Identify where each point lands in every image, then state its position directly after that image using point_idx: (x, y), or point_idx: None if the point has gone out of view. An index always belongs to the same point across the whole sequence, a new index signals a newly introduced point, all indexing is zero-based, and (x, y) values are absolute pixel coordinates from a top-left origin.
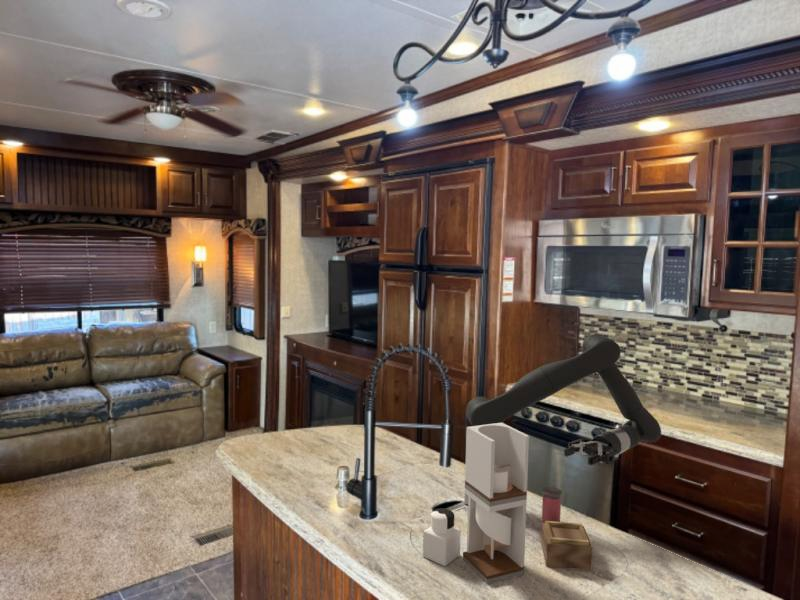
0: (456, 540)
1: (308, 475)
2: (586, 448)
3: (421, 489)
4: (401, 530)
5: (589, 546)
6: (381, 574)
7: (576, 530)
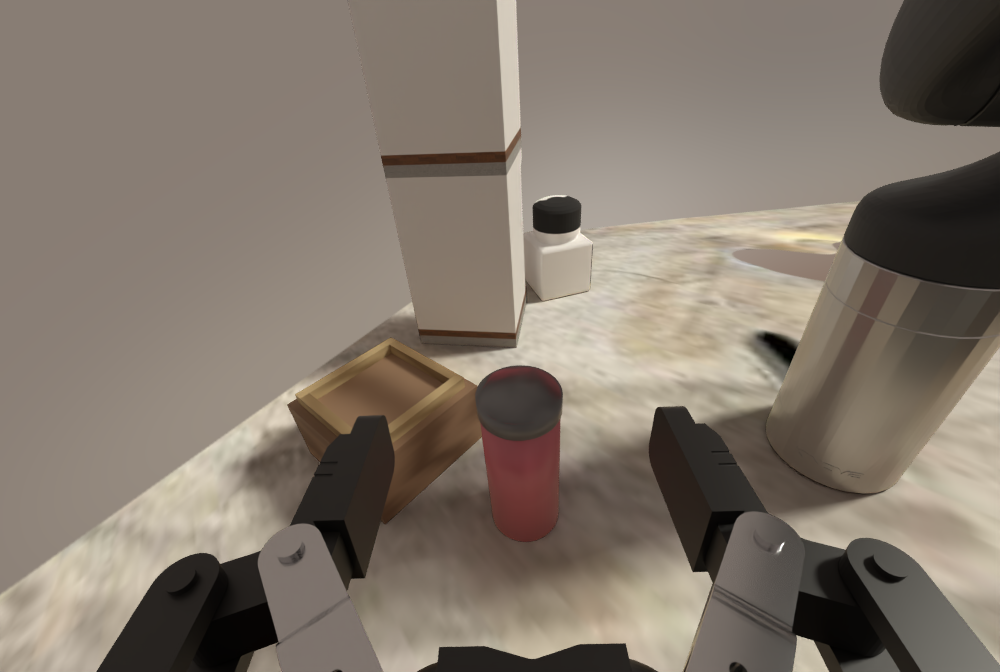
0: (534, 261)
1: None
2: (616, 657)
3: None
4: (672, 272)
5: (296, 401)
6: None
7: None
